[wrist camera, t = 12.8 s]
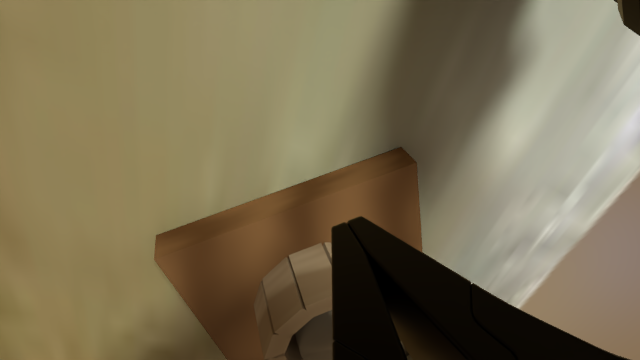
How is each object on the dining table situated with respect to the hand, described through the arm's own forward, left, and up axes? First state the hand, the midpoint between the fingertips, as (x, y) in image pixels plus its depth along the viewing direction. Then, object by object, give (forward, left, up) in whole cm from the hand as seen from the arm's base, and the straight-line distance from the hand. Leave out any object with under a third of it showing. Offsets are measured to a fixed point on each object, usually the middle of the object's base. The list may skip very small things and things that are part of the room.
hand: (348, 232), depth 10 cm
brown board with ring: (+1, +15, -12) cm, 19 cm away
